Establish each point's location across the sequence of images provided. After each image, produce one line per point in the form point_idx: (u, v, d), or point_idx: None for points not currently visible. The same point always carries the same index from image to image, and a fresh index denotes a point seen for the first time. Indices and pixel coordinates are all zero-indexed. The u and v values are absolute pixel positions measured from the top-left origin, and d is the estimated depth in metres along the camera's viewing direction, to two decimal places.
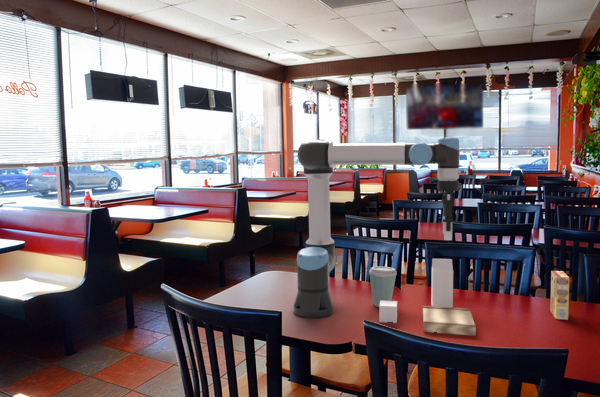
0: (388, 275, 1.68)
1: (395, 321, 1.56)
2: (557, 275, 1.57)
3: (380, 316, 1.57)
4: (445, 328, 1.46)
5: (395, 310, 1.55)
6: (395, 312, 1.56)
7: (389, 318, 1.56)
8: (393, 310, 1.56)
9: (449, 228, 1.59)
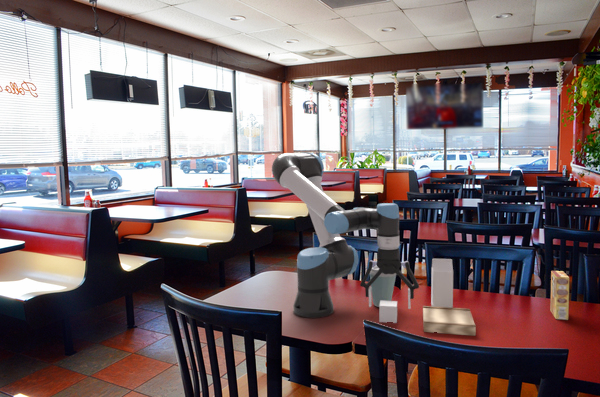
0: (388, 275, 1.68)
1: (395, 321, 1.56)
2: (557, 275, 1.57)
3: (380, 316, 1.57)
4: (445, 328, 1.46)
5: (395, 310, 1.55)
6: (395, 312, 1.56)
7: (389, 318, 1.56)
8: (394, 310, 1.56)
9: None
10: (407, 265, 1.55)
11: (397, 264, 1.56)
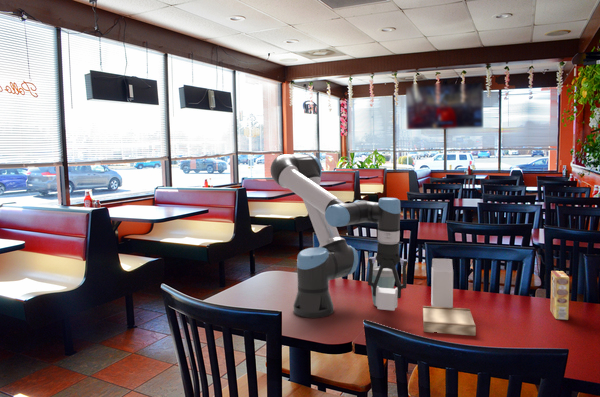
0: (388, 275, 1.68)
1: (393, 308, 1.56)
2: (557, 275, 1.57)
3: (378, 303, 1.57)
4: (445, 328, 1.46)
5: (393, 297, 1.55)
6: (393, 299, 1.56)
7: (387, 305, 1.56)
8: (392, 298, 1.56)
9: (373, 292, 1.60)
10: (405, 264, 1.55)
11: (396, 259, 1.56)
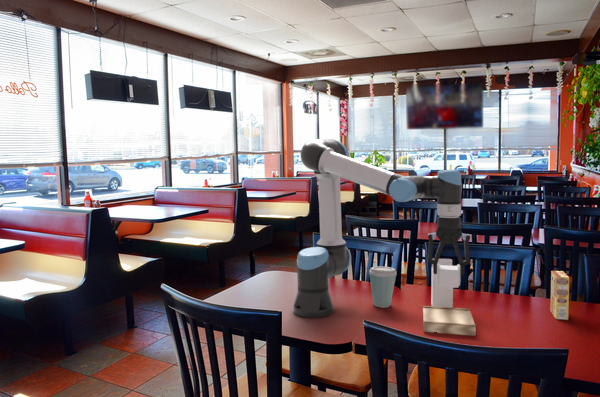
0: (388, 275, 1.68)
1: (457, 285, 1.48)
2: (557, 275, 1.57)
3: (440, 280, 1.50)
4: (445, 328, 1.46)
5: (457, 274, 1.48)
6: (457, 276, 1.48)
7: (450, 282, 1.49)
8: (455, 274, 1.48)
9: (433, 270, 1.53)
10: (468, 238, 1.48)
11: (458, 233, 1.49)
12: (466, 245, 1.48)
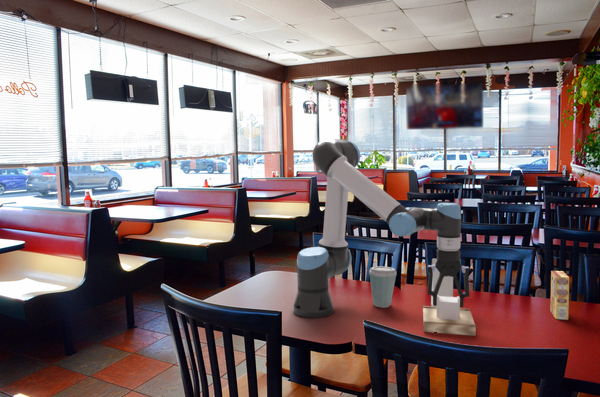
0: (388, 275, 1.68)
1: (456, 318, 1.49)
2: (557, 275, 1.57)
3: (440, 312, 1.51)
4: (445, 328, 1.46)
5: (456, 306, 1.49)
6: (456, 308, 1.49)
7: (450, 314, 1.50)
8: (455, 307, 1.49)
9: (433, 302, 1.54)
10: (467, 271, 1.49)
11: (458, 266, 1.50)
12: (466, 278, 1.49)
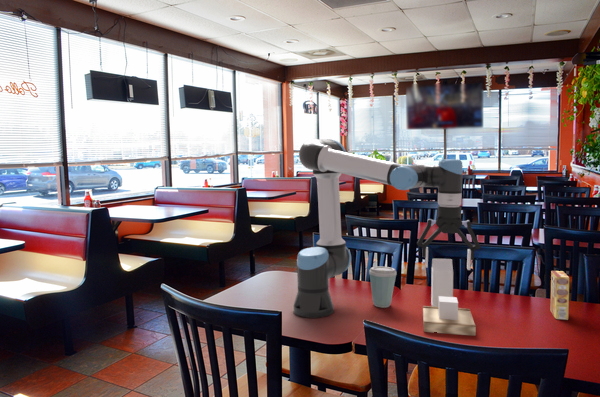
0: (388, 275, 1.68)
1: (456, 318, 1.49)
2: (557, 275, 1.57)
3: (440, 312, 1.51)
4: (445, 328, 1.46)
5: (456, 306, 1.49)
6: (456, 308, 1.49)
7: (450, 314, 1.50)
8: (455, 307, 1.49)
9: (422, 253, 1.53)
10: (469, 224, 1.47)
11: (458, 223, 1.48)
12: (470, 231, 1.48)
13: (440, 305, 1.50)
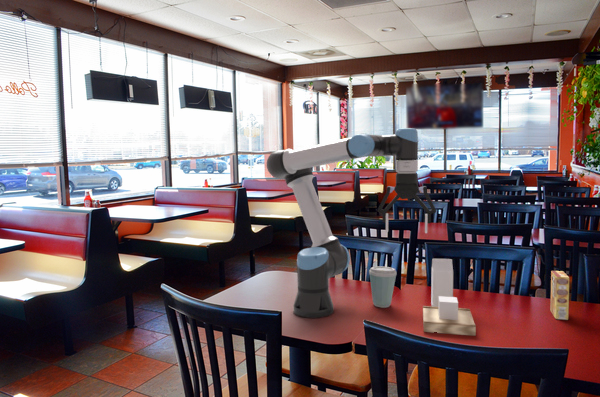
0: (388, 275, 1.68)
1: (456, 318, 1.49)
2: (557, 275, 1.57)
3: (440, 312, 1.51)
4: (445, 328, 1.46)
5: (456, 306, 1.49)
6: (456, 308, 1.49)
7: (450, 314, 1.50)
8: (455, 307, 1.49)
9: None
10: (425, 189, 1.56)
11: (415, 189, 1.57)
12: (426, 196, 1.56)
13: (440, 305, 1.50)
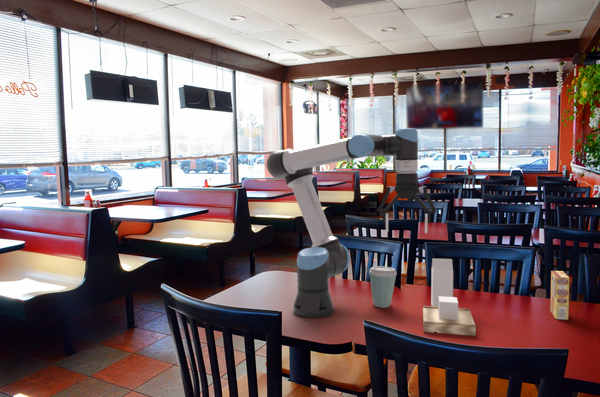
0: (388, 275, 1.68)
1: (456, 318, 1.49)
2: (557, 275, 1.57)
3: (440, 312, 1.51)
4: (445, 328, 1.46)
5: (456, 306, 1.49)
6: (456, 308, 1.49)
7: (450, 314, 1.50)
8: (455, 307, 1.49)
9: None
10: (425, 189, 1.56)
11: (415, 188, 1.57)
12: (426, 196, 1.56)
13: (440, 305, 1.50)
